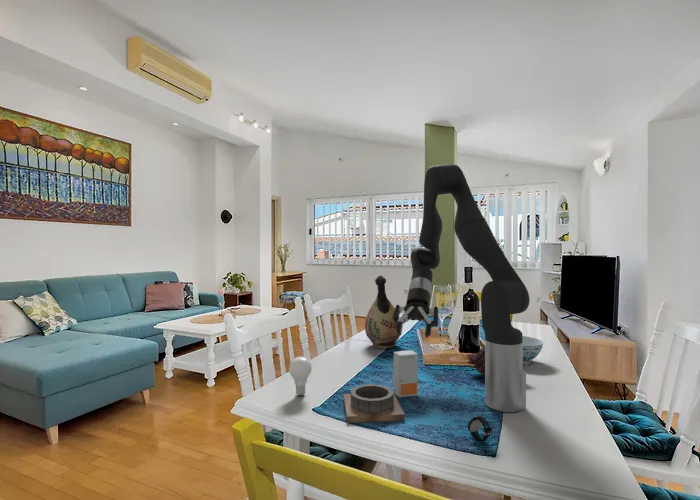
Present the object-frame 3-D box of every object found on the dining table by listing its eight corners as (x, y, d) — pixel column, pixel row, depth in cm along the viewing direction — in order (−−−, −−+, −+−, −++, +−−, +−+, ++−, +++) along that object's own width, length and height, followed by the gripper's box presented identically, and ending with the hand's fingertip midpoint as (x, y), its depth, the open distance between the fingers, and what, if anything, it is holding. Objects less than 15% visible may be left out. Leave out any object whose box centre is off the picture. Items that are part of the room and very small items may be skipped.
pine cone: (525, 377, 123) (525, 346, 123) (520, 387, 114) (520, 354, 114) (469, 368, 132) (469, 339, 132) (461, 376, 124) (461, 345, 124)
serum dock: (393, 397, 108) (393, 381, 108) (404, 420, 94) (404, 401, 94) (343, 399, 107) (343, 383, 106) (347, 422, 93) (347, 404, 92)
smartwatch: (483, 434, 86) (483, 412, 86) (492, 446, 81) (492, 423, 81) (465, 435, 86) (465, 413, 86) (473, 447, 81) (473, 423, 81)
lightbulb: (284, 397, 108) (284, 358, 108) (298, 389, 114) (297, 352, 114) (303, 401, 105) (303, 361, 105) (316, 393, 111) (315, 355, 111)
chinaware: (498, 365, 135) (498, 343, 135) (497, 353, 149) (497, 334, 149) (546, 369, 130) (546, 347, 130) (539, 357, 144) (539, 336, 144)
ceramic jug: (364, 341, 170) (364, 273, 169) (399, 341, 169) (399, 273, 169) (364, 352, 153) (364, 276, 152) (403, 352, 152) (403, 276, 152)
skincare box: (398, 398, 107) (398, 355, 107) (393, 392, 111) (392, 351, 111) (418, 395, 109) (418, 353, 108) (412, 390, 113) (412, 349, 113)
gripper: (396, 286, 130) (388, 326, 119) (439, 287, 125) (434, 330, 114) (400, 299, 135) (392, 339, 124) (441, 301, 130) (437, 343, 119)
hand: (412, 335), depth 119 cm, fingers open, 8 cm apart
